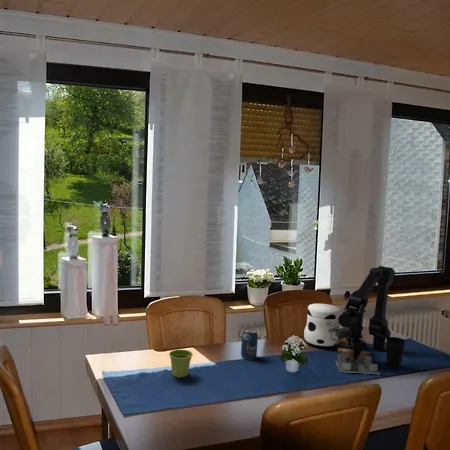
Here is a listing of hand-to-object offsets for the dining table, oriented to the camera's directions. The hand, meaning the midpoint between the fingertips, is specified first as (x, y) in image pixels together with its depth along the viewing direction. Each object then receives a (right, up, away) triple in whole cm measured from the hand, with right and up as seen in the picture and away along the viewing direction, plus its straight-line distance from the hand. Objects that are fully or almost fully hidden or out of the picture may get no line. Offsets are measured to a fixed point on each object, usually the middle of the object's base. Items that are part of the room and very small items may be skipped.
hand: (353, 356), depth 228 cm
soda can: (-47, +1, -4) cm, 47 cm away
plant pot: (-75, 0, -26) cm, 80 cm away
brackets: (-1, -2, -11) cm, 11 cm away
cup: (+16, -3, -6) cm, 17 cm away
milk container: (-11, +1, +19) cm, 22 cm away
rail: (0, -1, 0) cm, 1 cm away
